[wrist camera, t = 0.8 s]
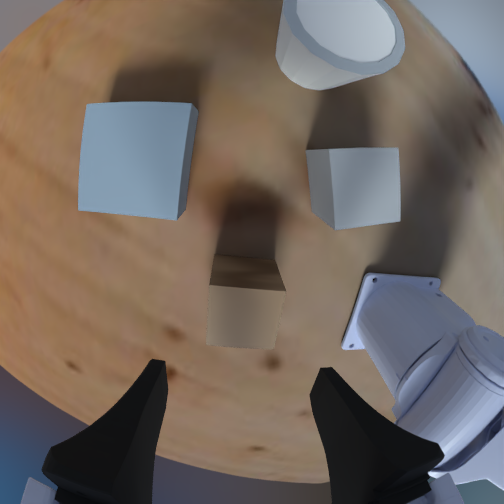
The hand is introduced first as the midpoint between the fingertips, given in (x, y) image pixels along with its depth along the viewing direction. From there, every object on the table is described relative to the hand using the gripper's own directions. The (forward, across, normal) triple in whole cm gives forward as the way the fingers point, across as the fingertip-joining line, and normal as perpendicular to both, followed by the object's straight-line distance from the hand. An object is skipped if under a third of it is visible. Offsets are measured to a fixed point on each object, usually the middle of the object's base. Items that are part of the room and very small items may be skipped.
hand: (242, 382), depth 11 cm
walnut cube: (+10, 0, 0) cm, 10 cm away
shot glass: (+10, -3, -18) cm, 21 cm away
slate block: (+11, +8, -9) cm, 16 cm away
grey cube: (+10, -6, -9) cm, 15 cm away
